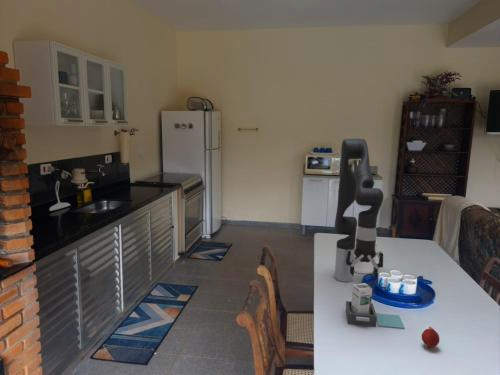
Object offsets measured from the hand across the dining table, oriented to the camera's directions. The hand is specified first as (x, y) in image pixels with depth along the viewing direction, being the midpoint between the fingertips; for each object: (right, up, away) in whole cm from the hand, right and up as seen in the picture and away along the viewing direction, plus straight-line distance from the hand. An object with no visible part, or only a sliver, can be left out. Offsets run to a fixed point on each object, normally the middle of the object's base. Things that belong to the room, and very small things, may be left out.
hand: (363, 275), depth 150 cm
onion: (+19, -23, -16) cm, 34 cm away
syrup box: (0, -19, +3) cm, 19 cm away
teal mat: (+11, -19, +1) cm, 22 cm away
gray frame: (0, -19, +3) cm, 19 cm away
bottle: (+16, -10, +56) cm, 59 cm away
